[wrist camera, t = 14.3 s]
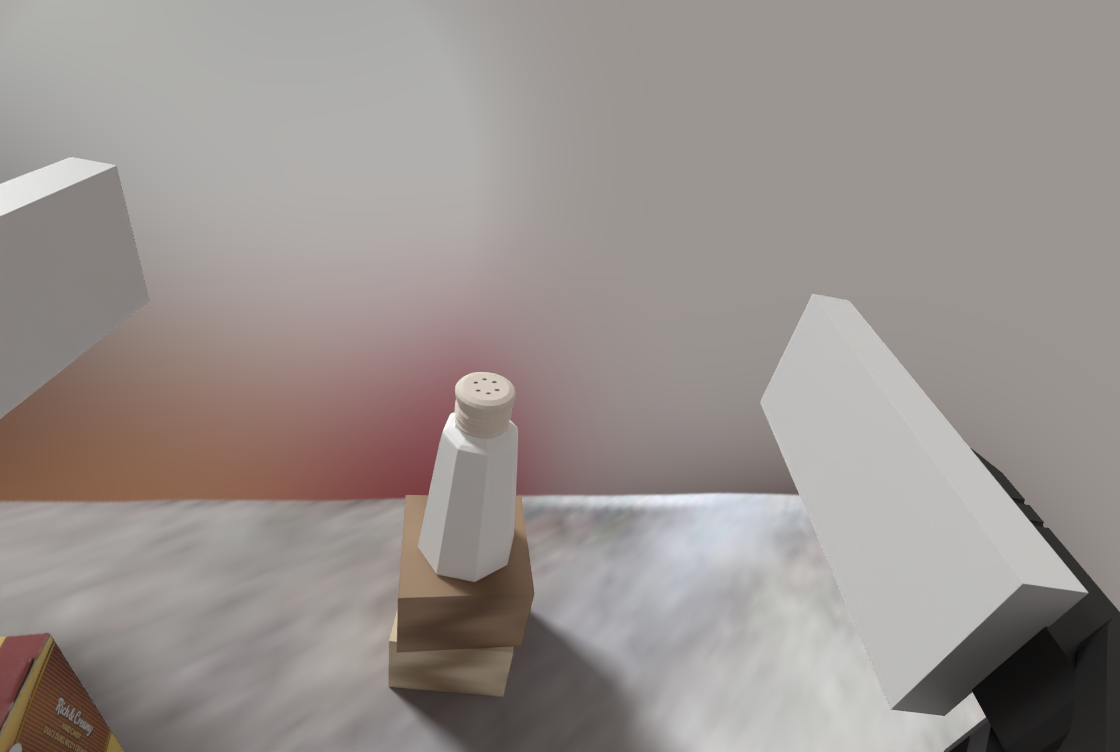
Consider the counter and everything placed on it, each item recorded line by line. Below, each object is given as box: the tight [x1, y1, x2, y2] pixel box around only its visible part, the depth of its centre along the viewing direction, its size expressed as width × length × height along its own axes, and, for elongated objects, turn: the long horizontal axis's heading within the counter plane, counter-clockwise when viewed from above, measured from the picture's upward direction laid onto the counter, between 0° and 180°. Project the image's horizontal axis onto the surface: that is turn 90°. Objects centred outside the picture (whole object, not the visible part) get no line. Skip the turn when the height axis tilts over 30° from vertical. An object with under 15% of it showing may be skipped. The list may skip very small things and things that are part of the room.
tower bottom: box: [389, 609, 514, 697], centre depth 37 cm, size 7×7×5 cm
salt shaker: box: [418, 372, 518, 582], centre depth 30 cm, size 5×5×11 cm
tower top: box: [397, 495, 534, 653], centre depth 35 cm, size 7×7×5 cm
